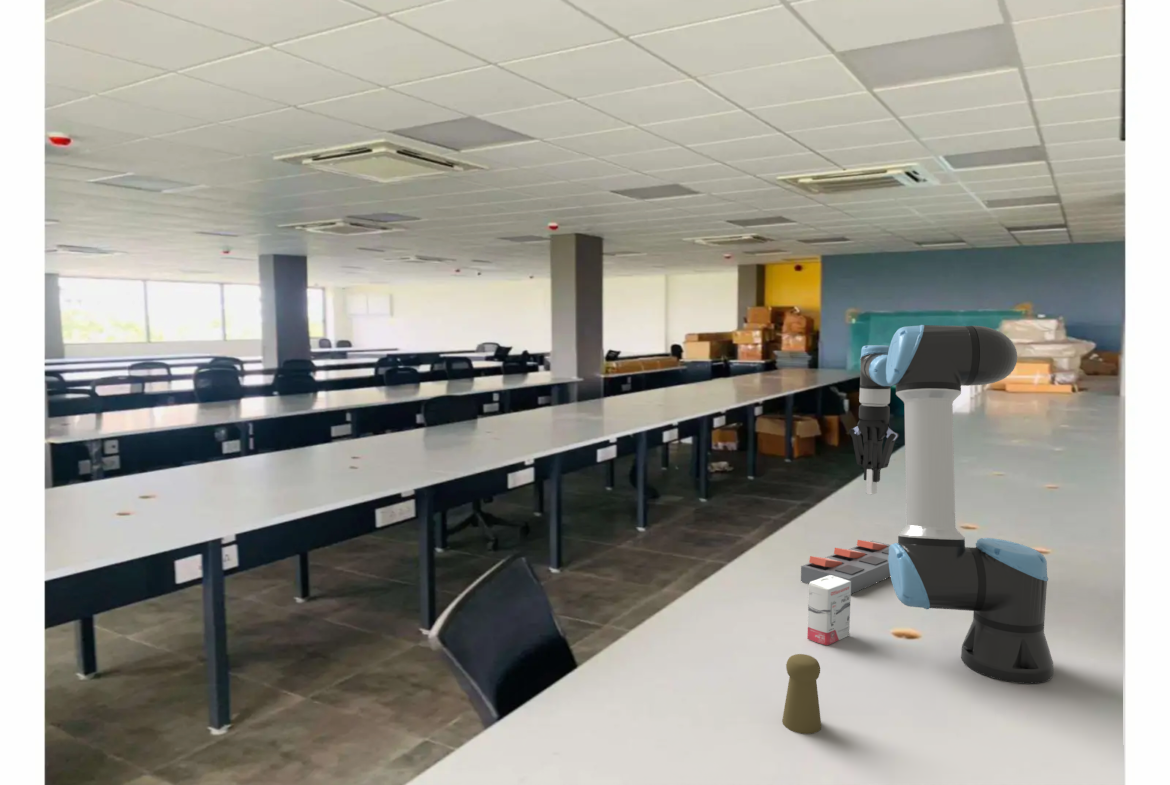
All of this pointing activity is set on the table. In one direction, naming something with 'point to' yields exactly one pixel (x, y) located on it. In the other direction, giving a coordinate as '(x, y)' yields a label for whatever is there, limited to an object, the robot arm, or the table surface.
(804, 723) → the olive brown peg figure
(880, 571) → the power strip
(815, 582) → the ink box
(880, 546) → the rocker
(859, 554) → the rocker
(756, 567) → the table surface
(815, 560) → the rocker
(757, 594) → the table surface
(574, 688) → the table surface
